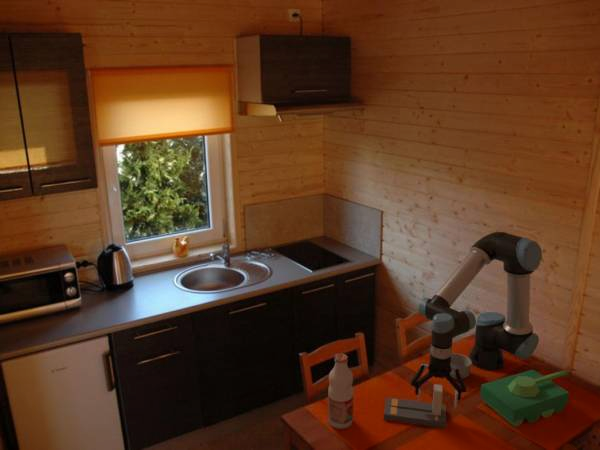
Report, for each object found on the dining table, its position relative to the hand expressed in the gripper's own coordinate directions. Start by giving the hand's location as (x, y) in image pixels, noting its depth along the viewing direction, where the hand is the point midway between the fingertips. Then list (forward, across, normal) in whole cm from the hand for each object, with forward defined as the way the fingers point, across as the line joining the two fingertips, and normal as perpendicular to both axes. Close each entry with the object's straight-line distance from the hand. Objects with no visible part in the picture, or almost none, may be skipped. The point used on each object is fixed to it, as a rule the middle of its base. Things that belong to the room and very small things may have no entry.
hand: (437, 403), depth 205 cm
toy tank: (+7, +36, +17) cm, 40 cm away
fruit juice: (+6, -36, -10) cm, 37 cm away
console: (+6, -8, 0) cm, 10 cm away
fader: (+3, 0, 0) cm, 3 cm away
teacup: (+7, +8, +30) cm, 32 cm away
